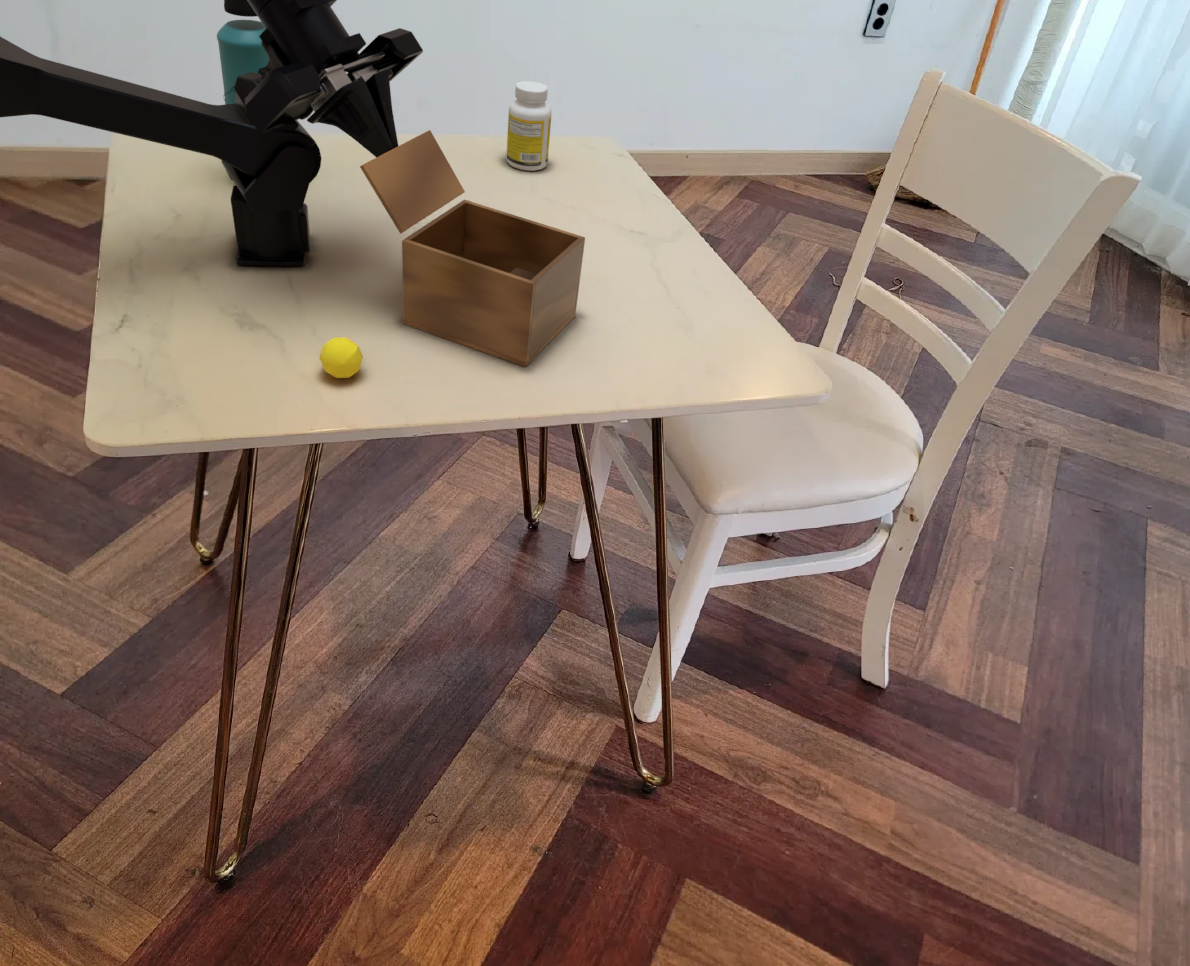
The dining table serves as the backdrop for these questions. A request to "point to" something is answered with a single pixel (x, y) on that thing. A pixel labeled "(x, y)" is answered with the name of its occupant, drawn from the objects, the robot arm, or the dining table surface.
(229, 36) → the beverage bottle
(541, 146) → the supplement bottle
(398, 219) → the flap
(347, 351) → the yellow lemon
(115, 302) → the dining table surface
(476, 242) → the brown wooden open box
